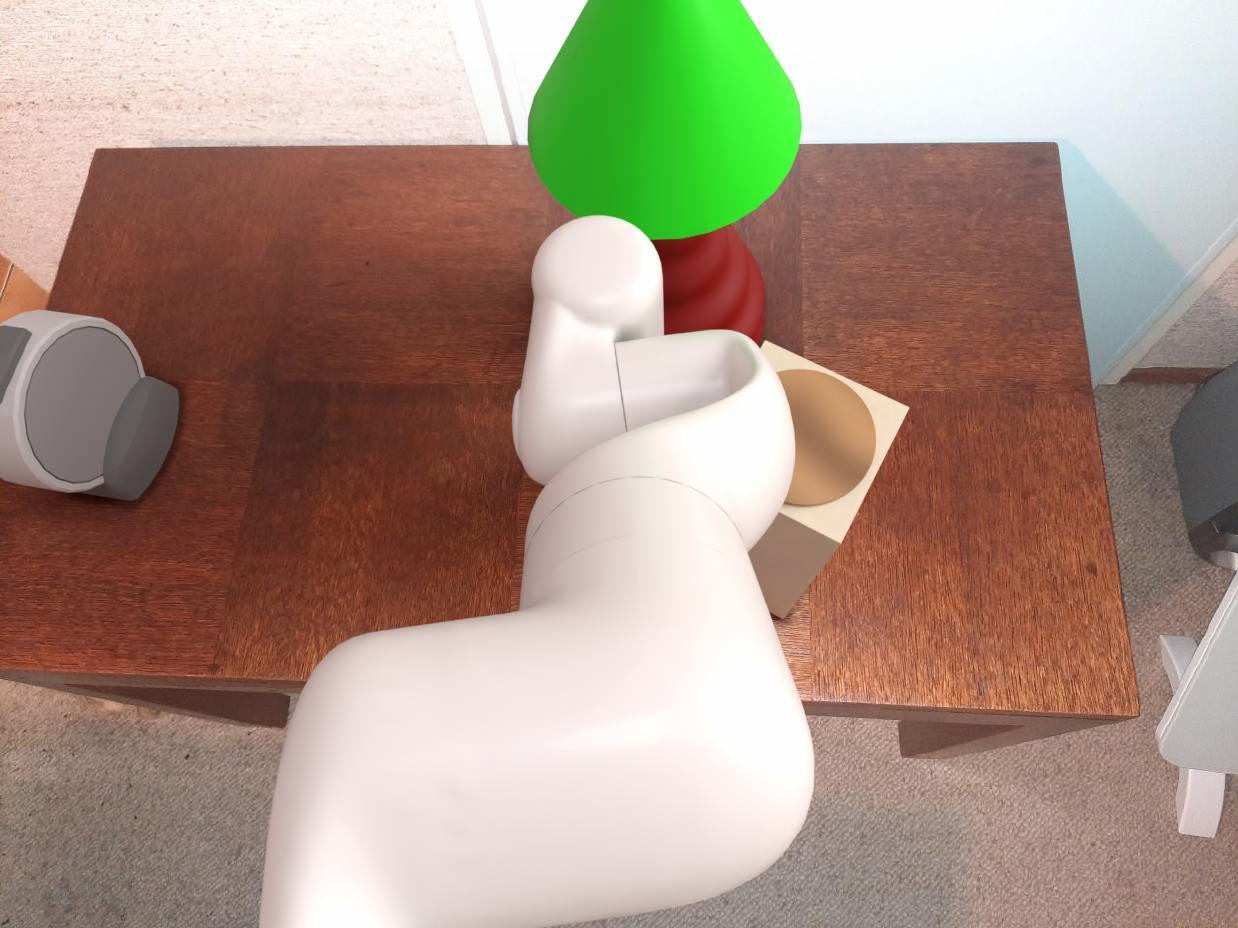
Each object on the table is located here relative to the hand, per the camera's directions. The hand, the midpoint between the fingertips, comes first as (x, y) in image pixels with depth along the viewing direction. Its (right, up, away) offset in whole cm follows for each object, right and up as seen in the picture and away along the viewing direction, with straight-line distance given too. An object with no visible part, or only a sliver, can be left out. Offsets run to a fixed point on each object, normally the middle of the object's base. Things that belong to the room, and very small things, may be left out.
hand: (623, 449), depth 75 cm
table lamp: (+4, +14, +13) cm, 19 cm away
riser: (+13, -9, +4) cm, 16 cm away
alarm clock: (-51, +1, +12) cm, 52 cm away
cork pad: (+11, 0, -22) cm, 25 cm away
